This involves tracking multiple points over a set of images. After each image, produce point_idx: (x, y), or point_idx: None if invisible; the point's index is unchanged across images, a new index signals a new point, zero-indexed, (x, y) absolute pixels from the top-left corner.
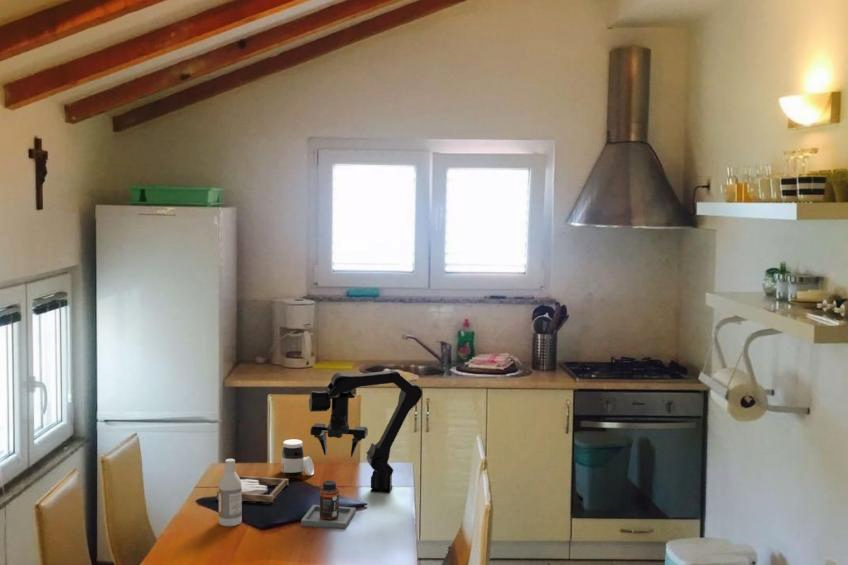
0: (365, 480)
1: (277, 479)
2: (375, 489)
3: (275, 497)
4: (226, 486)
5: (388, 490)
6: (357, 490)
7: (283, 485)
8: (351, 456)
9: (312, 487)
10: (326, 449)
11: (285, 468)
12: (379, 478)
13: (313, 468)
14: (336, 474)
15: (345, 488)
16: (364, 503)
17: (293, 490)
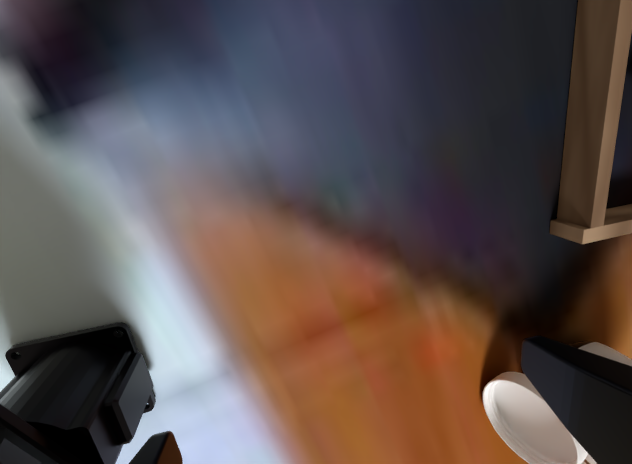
0: (240, 443)
1: (628, 220)
2: (104, 345)
3: (581, 27)
4: None
5: (22, 365)
6: (212, 313)
7: (581, 179)
8: (158, 437)
9: (442, 261)
10: (571, 428)
11: (619, 352)
12: (27, 397)
13: (499, 432)
14: (392, 444)
15: (285, 313)
16: (54, 125)
17: (515, 186)
